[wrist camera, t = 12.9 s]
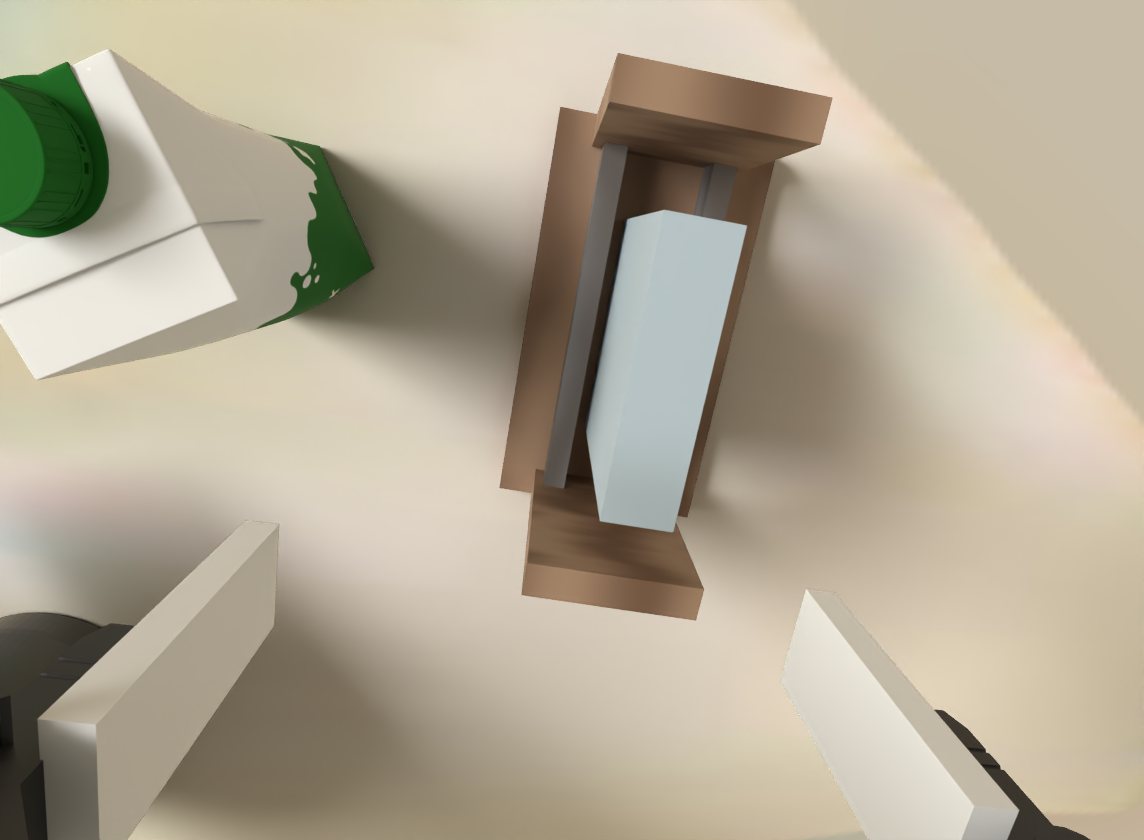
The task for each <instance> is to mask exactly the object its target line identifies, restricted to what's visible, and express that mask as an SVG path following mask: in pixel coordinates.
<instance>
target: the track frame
mask: <svg viewBox="0 0 1144 840" xmlns="http://www.w3.org/2000/svg"><path fill="white" fill-rule="evenodd" d="M831 102H832V97H827V96H822V95H817V94H812V93H807V92H803V91H798V90H793V89H788V88H783V87H779V86H774V85H769V84H764V83H759V82H755V81H750V80H745V79H740V78H735V77H730V76H726V75H721V74H716V73H711V72H706V71H702V70H697V69H692V68H687V67H682V66H677V65H673V64H668V63H663V62H658V61H653V60H649V59H644V58H639V57H634V56H629V55H625V54H620V53H618V54H617V57H616V60H615V63H614V66H613V69H612V72H611V75H610V78H609V81H608V84H607V87H606V90H605V93H604V96H603V99H602V102H601V105H600V108H599V111H598V114H593V113H588V112H583V111H578V110H573V109H568V108H563V107H560V113H559V119H558V125H557V131H556V138H555V144H554V150H553V156H552V163H551V169H550V175H549V182H548V188H547V194H546V200H545V207H544V213H543V219H542V225H541V232H540V238H539V244H538V250H537V257H536V263H535V269H534V275H533V282H532V288H531V294H530V300H529V307H528V313H527V319H526V326H525V332H524V338H523V344H522V351H521V357H520V363H519V369H518V376H517V382H516V388H515V394H514V401H513V407H512V413H511V419H510V426H509V432H508V438H507V445H506V451H505V457H504V463H503V470H502V476H501V482H500V488H504V489H510V490H517V491H523V492H529V493H531V502H530V513H529V523H528V534H527V544H526V554H525V565H524V575H523V586H522V595H525V596H532V597H539V598H546V599H552V600H559V601H566V602H573V603H580V604H587V605H594V606H600V607H607V608H614V609H621V610H628V611H635V612H641V613H648V614H655V615H662V616H669V617H676V618H683V619H689V620H696V618H697V614H698V610H699V607H700V603H701V599H702V595H703V591H704V588H703V586H702V584H701V581H700V579H699V576H698V574H697V572H696V569H695V567H694V564H693V562H692V560H691V557H690V555H689V553H688V550H687V548H686V545H685V543H684V541H683V538H682V536H681V534H680V531H679V529H678V526H677V524H676V523H675V527H674V531H673V532H666V531H660V530H654V529H647V528H641V527H634V526H628V525H621V524H615V523H609V522H602V521H600V518H599V512H598V505H597V499H596V492H595V486H594V479H593V473H592V467H591V460H590V454H589V447H588V441H587V434H586V428H585V421H586V415H587V410H588V405H589V400H590V395H591V389H592V384H593V379H594V374H595V368H596V363H597V358H598V353H599V348H600V342H601V337H602V332H603V327H604V322H605V316H606V311H607V306H608V301H609V295H610V290H611V285H612V280H613V275H614V269H615V264H616V259H617V254H618V249H619V243H620V238H621V233H622V228H623V223H624V220H626V219H630V218H634V217H638V216H642V215H646V214H650V213H654V212H658V211H662V210H668V211H673V212H679V213H684V214H689V215H694V216H700V217H705V218H710V219H715V220H720V221H726V222H731V223H736V224H741V225H747V228H746V233H745V237H744V241H743V245H742V249H741V253H740V258H739V262H738V266H737V270H736V274H735V278H734V282H733V287H732V291H731V295H730V299H729V303H728V307H727V311H726V316H725V320H724V324H723V328H722V332H721V336H720V341H719V345H718V349H717V353H716V357H715V361H714V365H713V370H712V374H711V378H710V382H709V386H708V390H707V394H706V399H705V403H704V407H703V411H702V415H701V419H700V424H699V428H698V432H697V436H696V440H695V444H694V448H693V453H692V457H691V461H690V465H689V469H688V473H687V477H686V482H685V486H684V490H683V494H682V498H681V502H680V507H679V511H678V515H677V516H682V517H687V516H688V512H689V508H690V504H691V500H692V496H693V492H694V488H695V484H696V480H697V476H698V471H699V467H700V463H701V459H702V455H703V451H704V447H705V443H706V439H707V435H708V431H709V427H710V423H711V419H712V414H713V410H714V406H715V402H716V398H717V394H718V390H719V386H720V382H721V378H722V374H723V370H724V366H725V362H726V357H727V353H728V349H729V345H730V341H731V337H732V333H733V329H734V325H735V321H736V317H737V313H738V309H739V305H740V300H741V296H742V292H743V288H744V284H745V280H746V276H747V272H748V268H749V264H750V260H751V256H752V252H753V248H754V243H755V239H756V235H757V231H758V227H759V223H760V219H761V215H762V211H763V207H764V203H765V199H766V195H767V190H768V186H769V182H770V178H771V174H772V170H773V166H774V162H775V160H777V159H780V158H782V157H785V156H788V155H791V154H794V153H797V152H800V151H802V150H805V149H808V148H811V147H814V146H817V145H820V144H821V140H822V136H823V132H824V129H825V125H826V121H827V117H828V113H829V109H830V106H831Z"/></svg>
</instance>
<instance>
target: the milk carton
mask: <svg viewBox="0 0 1144 840" xmlns="http://www.w3.org/2000/svg"><path fill="white" fill-rule="evenodd" d="M372 269H374V266H373V264H372V262H371V259H370V257H369V255H368V253H367V250H366V248H365V246H364V244H363V241H362V239H361V237H360V235H359V233H358V230H357V228H356V226H355V224H354V221H353V219H352V217H351V215H350V212H349V210H348V208H347V206H346V204H345V201H344V199H343V197H342V195H341V192H340V190H339V188H338V186H337V183H336V181H335V179H334V177H333V175H332V172H331V170H330V168H329V166H328V163H327V161H326V159H325V157H324V154H323V152H322V150H321V148H320V146H316V145H312V144H308V143H303V142H299V141H295V140H290V139H286V138H282V137H277V136H273V135H268V134H265V133H262V132H260V131H257V130H254V129H251V128H248V127H245V126H243V125H240V124H237V123H234V122H231V121H229V120H226V119H223V118H220V117H217V116H215V115H212V114H209V113H206V112H203V111H201V110H198V109H197V108H195V107H194V106H192V105H191V104H189V103H188V102H186V101H185V100H183V99H182V98H180V97H179V96H177V95H176V94H175V93H173V92H172V91H170V90H169V89H167V88H166V87H164V86H163V85H161V84H160V83H158V82H157V81H156V80H154V79H153V78H151V77H150V76H148V75H147V74H145V73H144V72H142V71H141V70H139V69H138V68H137V67H135V66H134V65H132V64H131V63H129V62H128V61H126V60H125V59H123V58H122V57H120V56H119V55H118V54H116V53H115V52H113V51H112V50H110V49H107V50H104V51H102V52H100V53H97V54H95V55H93V56H91V57H89V58H87V59H85V60H83V61H81V62H79V63H77V64H75V65H72V66H70V64H69V63H68V62H65V63H63V64H61V65H58V66H56V67H54V68H52V69H49V70H47V71H45V72H43V73H41V74H39V75H18V76H12V77H7V78H4V79H0V323H1V324H2V326H3V328H4V329H5V331H6V333H7V334H8V336H9V337H10V339H11V341H12V342H13V344H14V345H15V347H16V349H17V350H18V352H19V354H20V355H21V357H22V358H23V360H24V362H25V363H26V365H27V367H28V368H29V370H30V371H31V373H32V374H33V376H34V378H35V379H36V380H41V379H45V378H50V377H55V376H59V375H64V374H69V373H74V372H79V371H84V370H89V369H94V368H99V367H104V366H109V365H115V364H120V363H125V362H130V361H135V360H140V359H146V358H151V357H156V356H161V355H166V354H171V353H175V352H179V351H183V350H187V349H191V348H194V347H198V346H202V345H205V344H209V343H213V342H216V341H219V340H223V339H226V338H229V337H233V336H236V335H239V334H242V333H246V332H249V331H252V330H255V329H259V328H262V327H265V326H268V325H271V324H275V323H278V322H281V321H283V320H286V319H289V318H291V317H293V316H296V315H298V314H300V313H302V312H304V311H306V310H308V309H311V308H313V307H315V306H318V305H320V304H321V303H323V302H325V301H327V300H329V299H330V298H332V297H333V296H335V295H336V294H338V293H339V292H340V291H342V290H343V289H345V288H346V287H348V286H349V285H350V284H352V283H353V282H355V281H356V280H358V279H359V278H361V277H362V276H363V275H365V274H366V273H368V272H369V271H371V270H372Z"/></svg>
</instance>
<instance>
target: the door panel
mask: <svg viewBox="0 0 1144 840" xmlns="http://www.w3.org/2000/svg"><path fill="white" fill-rule="evenodd" d="M746 228H747V225H741V224H736V223H731V222H726V221H720V220H715V219H710V218H705V217H700V216H694V215H689V214H684V213H679V212H673V211H668V210H662V211H658V212H654V213H650V214H646V215H642V216H638V217H634V218H630V219H626V220H624V223H623V228H622V233H621V238H620V243H619V249H618V254H617V259H616V264H615V269H614V275H613V280H612V285H611V290H610V295H609V301H608V306H607V311H606V316H605V322H604V327H603V332H602V337H601V342H600V348H599V353H598V358H597V363H596V368H595V374H594V379H593V384H592V389H591V395H590V400H589V405H588V410H587V415H586V421H585V428H586V434H587V441H588V447H589V454H590V460H591V467H592V473H593V479H594V486H595V492H596V499H597V505H598V512H599V518H600V521H602V522H609V523H615V524H621V525H628V526H634V527H641V528H647V529H654V530H660V531H666V532H673V531H674V527H675V523H676V519H677V515H678V511H679V507H680V502H681V498H682V494H683V490H684V486H685V482H686V477H687V473H688V469H689V465H690V461H691V457H692V453H693V448H694V444H695V440H696V436H697V432H698V428H699V424H700V419H701V415H702V411H703V407H704V403H705V399H706V394H707V390H708V386H709V382H710V378H711V374H712V370H713V365H714V361H715V357H716V353H717V349H718V345H719V341H720V336H721V332H722V328H723V324H724V320H725V316H726V311H727V307H728V303H729V299H730V295H731V291H732V287H733V282H734V278H735V274H736V270H737V266H738V262H739V258H740V253H741V249H742V245H743V241H744V237H745V233H746Z"/></svg>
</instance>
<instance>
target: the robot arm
mask: <svg viewBox="0 0 1144 840" xmlns="http://www.w3.org/2000/svg"><path fill="white" fill-rule="evenodd" d="M278 538H279V524H273V523H265V522H257V521H248V520H246V521H245V522H243V523H242V524H241V525H240V526H239V527H238V528H237V529H236V530H235V531H234V532H233V533H232V534H231V535H230V536H229V537H228V538H227V539H226V540H225V541H224V542H223V543H221V544H220V545H219V546H218V547H217V548H216V549H215V550H214V551H213V552H212V553H211V554H210V555H209V556H208V557H207V558H206V559H205V560H204V561H203V562H202V563H201V564H199V565H198V566H197V567H196V568H195V569H194V570H193V571H192V572H191V573H190V574H189V575H188V576H187V577H186V578H185V579H184V580H183V581H182V582H181V583H180V584H179V585H177V586H176V587H175V588H174V589H173V590H172V591H171V592H170V593H169V594H168V595H167V596H166V597H165V598H164V599H163V600H162V601H161V602H160V603H159V604H158V605H157V606H155V607H154V608H153V609H152V610H151V611H150V612H149V613H148V614H147V615H146V616H145V617H144V618H143V619H142V620H141V621H140V622H139V623H138V624H137V625H136V626H130V625H121V624H109V625H107V626H104V627H102V628H98V627H96V626H94V625H92V624H89V623H87V622H84V621H81V620H78V619H74V618H71V617H67V616H62V615H56V614H48V613H23V614H15V615H10V616H5V617H2V618H0V840H128V838H129V837H130V835H131V834H132V832H133V831H134V829H135V828H136V826H137V825H138V824H139V822H140V821H141V819H142V818H143V816H144V815H145V813H146V812H147V810H148V809H149V807H150V806H151V805H152V803H153V802H154V800H155V799H156V797H157V796H158V794H159V793H160V791H161V790H162V789H163V787H164V786H165V784H166V783H167V781H168V780H169V778H170V777H171V775H172V774H173V772H174V771H175V770H176V768H177V767H178V765H179V764H180V762H181V761H182V759H183V758H184V756H185V755H186V754H187V752H188V751H189V749H190V748H191V746H192V745H193V743H194V742H195V740H196V739H197V738H198V736H199V735H200V733H201V732H202V730H203V729H204V727H205V726H206V724H207V723H208V721H209V720H210V719H211V717H212V716H213V714H214V713H215V711H216V710H217V708H218V707H219V705H220V704H221V703H222V701H223V700H224V698H225V697H226V695H227V694H228V692H229V691H230V689H231V688H232V686H233V685H234V684H235V682H236V681H237V679H238V678H239V676H240V675H241V673H242V672H243V670H244V669H245V668H246V666H247V665H248V663H249V662H250V660H251V659H252V657H253V656H254V654H255V653H256V652H257V650H258V649H259V647H260V646H261V644H262V643H263V641H264V640H265V638H266V637H267V635H268V634H269V633H270V631H271V630H272V628H273V627H274V619H275V599H276V579H277V558H278ZM780 681H781V683H782V685H783V687H784V689H785V690H786V692H787V694H788V696H789V698H790V699H791V701H792V703H793V705H794V707H795V709H796V710H797V712H798V714H799V716H800V718H801V719H802V721H803V723H804V725H805V727H806V728H807V730H808V732H809V734H810V736H811V737H812V739H813V741H814V743H815V745H816V747H817V748H818V750H819V752H820V754H821V756H822V757H823V759H824V761H825V763H826V765H827V766H828V768H829V770H830V772H831V774H832V775H833V777H834V779H835V781H836V783H837V784H838V786H839V788H840V790H841V792H842V794H843V795H844V797H845V799H846V801H847V803H848V804H849V806H850V808H851V810H852V812H853V813H854V815H855V817H856V819H857V821H858V822H859V824H860V826H861V828H862V830H863V832H864V833H865V835H866V837H867V839H868V840H1090V839H1088V838H1087V837H1085V836H1083V835H1081V834H1079V833H1077V832H1074V831H1072V830H1069V829H1067V828H1064V827H1059V826H1053V825H1052V824H1051V823H1050V822H1049V820H1048V819H1047V818H1046V817H1045V816H1044V815H1043V814H1042V813H1041V811H1040V810H1039V809H1038V808H1037V807H1036V806H1035V805H1034V803H1033V802H1032V801H1031V800H1030V799H1029V798H1028V797H1027V796H1026V794H1025V793H1024V792H1023V791H1022V790H1021V789H1020V788H1019V786H1018V785H1017V784H1016V783H1015V782H1014V781H1013V780H1012V779H1011V777H1010V776H1009V775H1008V774H1007V773H1006V772H1005V771H1004V770H1001V769H1000V765H999V764H998V763H997V762H996V760H995V759H994V758H993V757H992V756H991V755H990V754H989V753H986V749H985V748H984V747H983V746H982V745H981V743H980V742H979V741H978V740H977V739H976V738H975V737H974V736H973V734H972V733H971V732H970V731H969V730H968V729H967V728H966V727H964V726H963V725H962V724H960V723H959V722H958V721H956V720H955V719H954V718H952V717H951V716H950V715H948V714H947V713H946V712H944V711H943V710H934V709H933V708H932V707H931V706H930V704H929V703H928V702H927V701H926V700H925V699H924V697H923V696H922V695H921V694H920V693H919V691H918V690H917V689H916V688H915V687H914V686H913V684H912V683H911V682H910V681H909V680H908V679H907V677H906V676H905V675H904V674H903V673H902V671H901V670H900V669H899V668H898V667H897V666H896V664H895V663H894V662H893V661H892V660H891V658H890V657H889V656H888V655H887V654H886V653H885V651H884V650H883V649H882V648H881V647H880V645H879V644H878V643H877V642H876V641H875V640H874V638H873V637H872V636H871V635H870V634H869V632H868V631H867V630H866V629H865V628H864V627H863V625H862V624H861V623H860V622H859V621H858V620H857V618H856V617H855V616H854V615H853V614H852V612H851V611H850V610H849V609H848V608H847V607H846V605H845V604H844V603H843V602H842V601H841V599H840V598H839V597H838V596H837V595H836V594H835V592H827V591H819V590H811V589H806V591H805V595H804V598H803V602H802V605H801V609H800V612H799V616H798V619H797V623H796V626H795V630H794V634H793V637H792V641H791V644H790V648H789V651H788V655H787V658H786V662H785V665H784V669H783V672H782V676H781V680H780Z"/></svg>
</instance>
